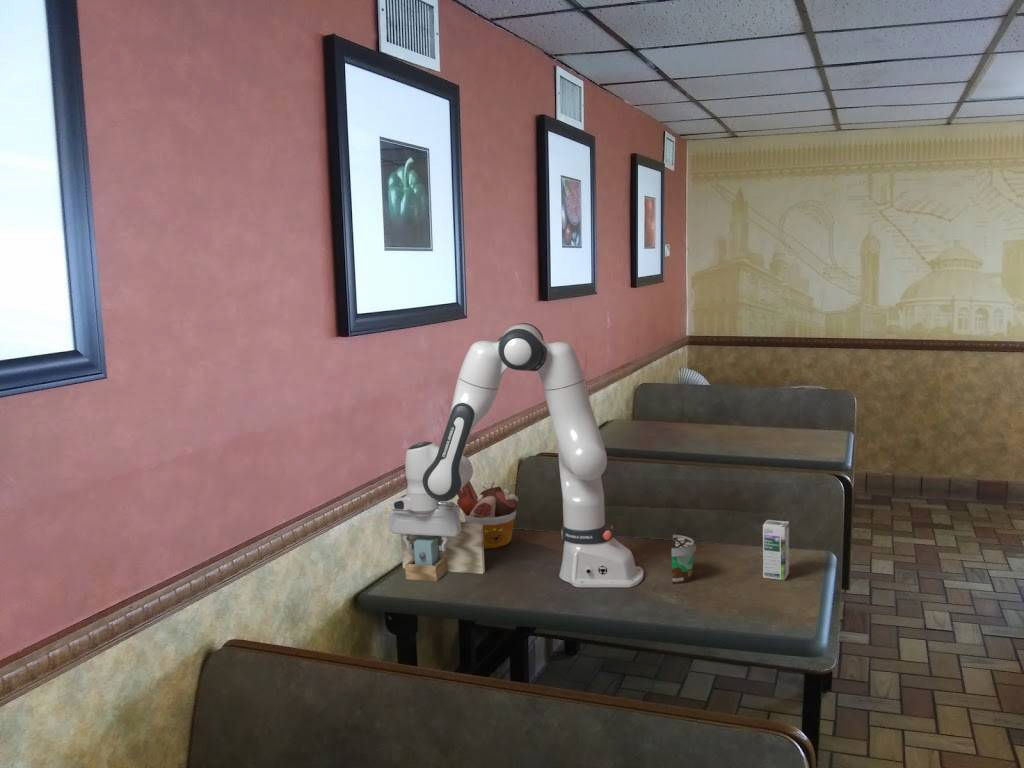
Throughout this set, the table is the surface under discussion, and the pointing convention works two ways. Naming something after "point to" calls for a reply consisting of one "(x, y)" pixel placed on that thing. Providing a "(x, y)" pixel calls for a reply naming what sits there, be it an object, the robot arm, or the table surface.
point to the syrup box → (776, 549)
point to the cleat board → (449, 555)
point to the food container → (682, 559)
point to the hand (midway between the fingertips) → (426, 549)
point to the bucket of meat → (490, 512)
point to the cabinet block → (426, 551)
